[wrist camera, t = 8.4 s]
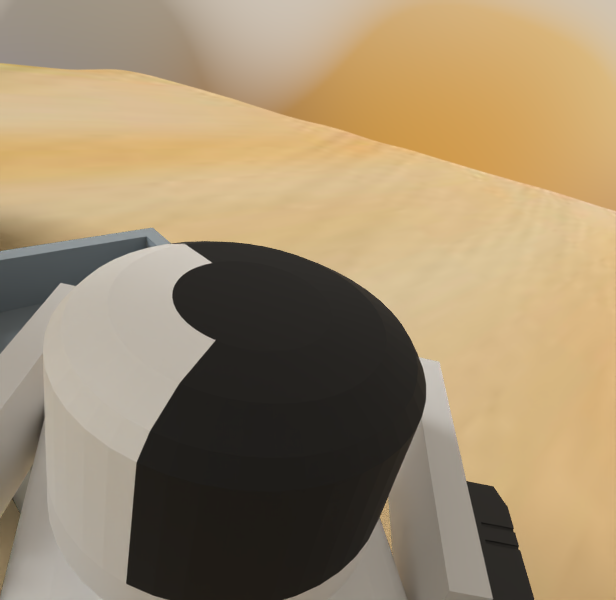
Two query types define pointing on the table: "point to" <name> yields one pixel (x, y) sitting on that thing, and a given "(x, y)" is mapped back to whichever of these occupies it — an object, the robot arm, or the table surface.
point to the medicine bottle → (217, 433)
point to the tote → (55, 280)
